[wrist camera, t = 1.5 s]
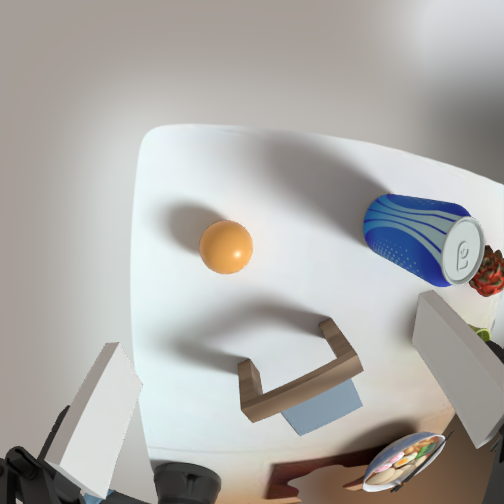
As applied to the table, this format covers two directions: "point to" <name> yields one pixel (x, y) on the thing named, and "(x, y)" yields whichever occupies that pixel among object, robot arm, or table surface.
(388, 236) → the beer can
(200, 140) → the table surface
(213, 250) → the ball
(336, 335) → the bridge
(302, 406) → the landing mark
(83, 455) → the robot arm
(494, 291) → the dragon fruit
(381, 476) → the ramen bowl
